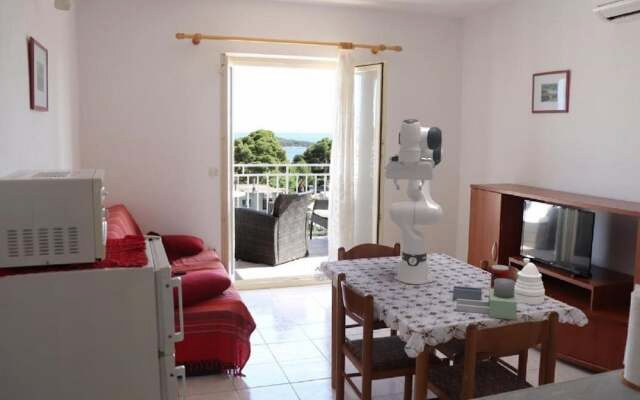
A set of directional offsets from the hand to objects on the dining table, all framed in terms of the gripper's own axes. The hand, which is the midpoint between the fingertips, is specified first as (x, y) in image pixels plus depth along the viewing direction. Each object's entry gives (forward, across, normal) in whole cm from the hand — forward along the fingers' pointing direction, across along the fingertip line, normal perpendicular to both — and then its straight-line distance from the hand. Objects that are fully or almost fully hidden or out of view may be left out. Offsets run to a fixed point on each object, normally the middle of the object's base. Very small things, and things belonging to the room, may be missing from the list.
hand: (408, 190), depth 238 cm
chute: (+48, -26, -8) cm, 55 cm away
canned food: (+48, -40, -27) cm, 68 cm away
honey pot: (+48, -52, -15) cm, 72 cm away
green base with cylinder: (+48, -33, +6) cm, 59 cm away
